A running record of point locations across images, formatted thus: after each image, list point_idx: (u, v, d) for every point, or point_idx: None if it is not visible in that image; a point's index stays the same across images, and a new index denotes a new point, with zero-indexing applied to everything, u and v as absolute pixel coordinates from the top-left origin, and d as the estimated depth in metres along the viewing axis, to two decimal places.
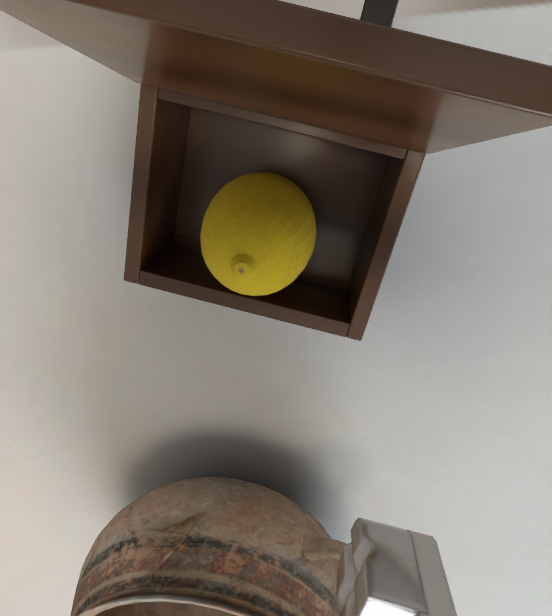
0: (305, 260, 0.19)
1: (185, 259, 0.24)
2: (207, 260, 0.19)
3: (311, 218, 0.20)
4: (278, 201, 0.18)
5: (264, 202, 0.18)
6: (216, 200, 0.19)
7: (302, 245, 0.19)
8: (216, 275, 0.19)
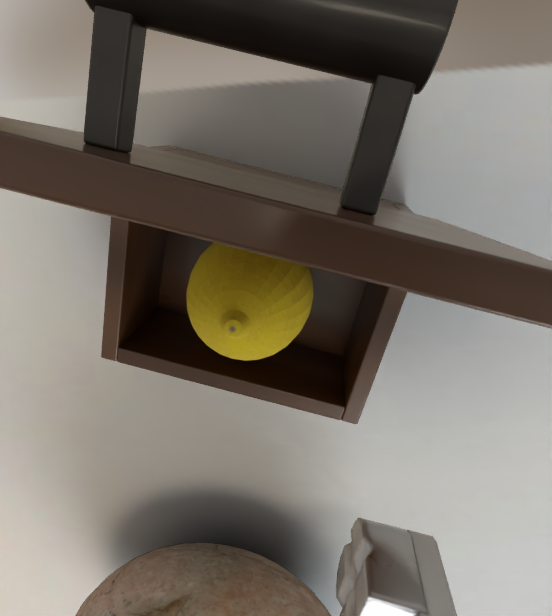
0: (302, 321, 0.17)
1: (169, 326, 0.23)
2: (193, 318, 0.17)
3: (309, 276, 0.18)
4: None
5: (259, 255, 0.16)
6: (206, 254, 0.17)
7: (300, 303, 0.17)
8: (202, 335, 0.17)
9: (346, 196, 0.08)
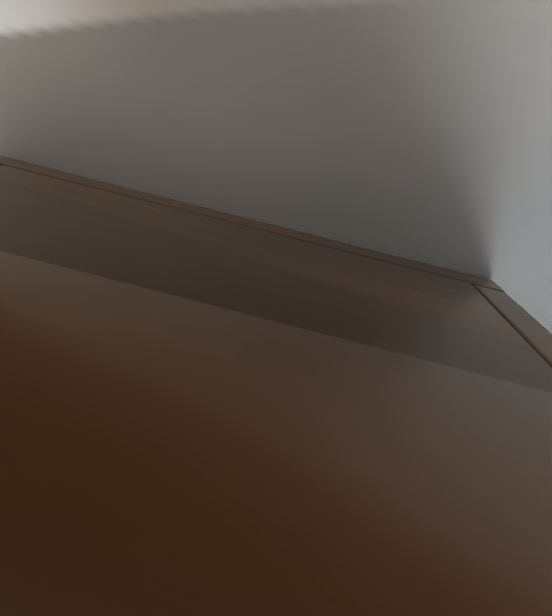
0: None
1: None
2: None
3: None
4: None
5: None
6: None
7: None
8: None
9: None
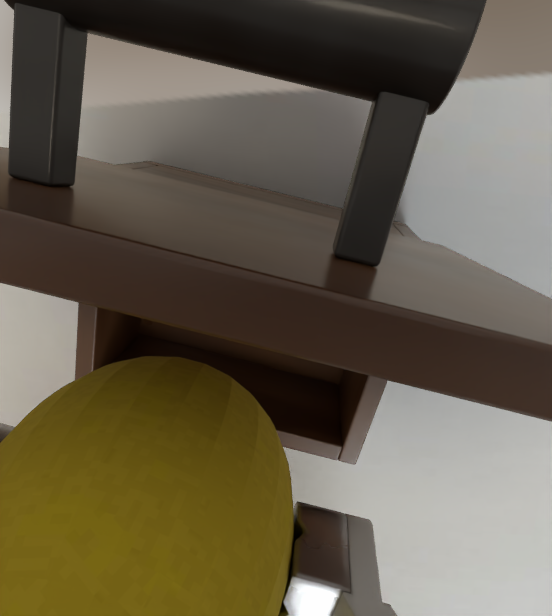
0: None
1: (151, 355, 0.21)
2: None
3: (281, 511, 0.07)
4: (168, 513, 0.05)
5: (111, 533, 0.05)
6: None
7: None
8: None
9: (341, 243, 0.06)
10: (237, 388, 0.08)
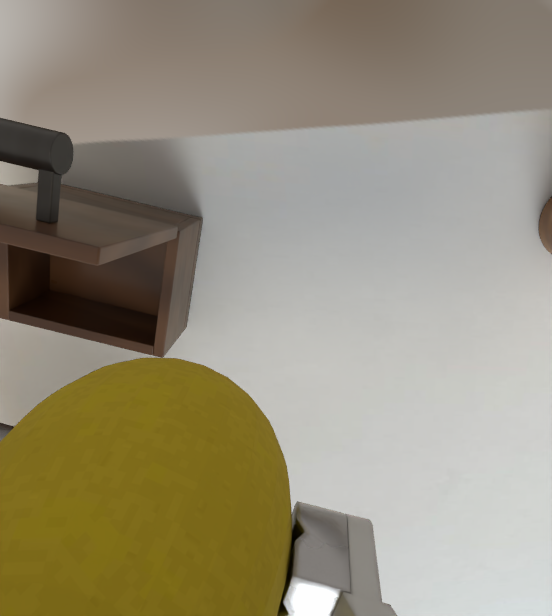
0: None
1: (52, 300, 0.34)
2: None
3: (279, 514, 0.07)
4: (165, 517, 0.05)
5: (108, 536, 0.05)
6: None
7: None
8: None
9: (37, 215, 0.19)
10: (235, 390, 0.08)
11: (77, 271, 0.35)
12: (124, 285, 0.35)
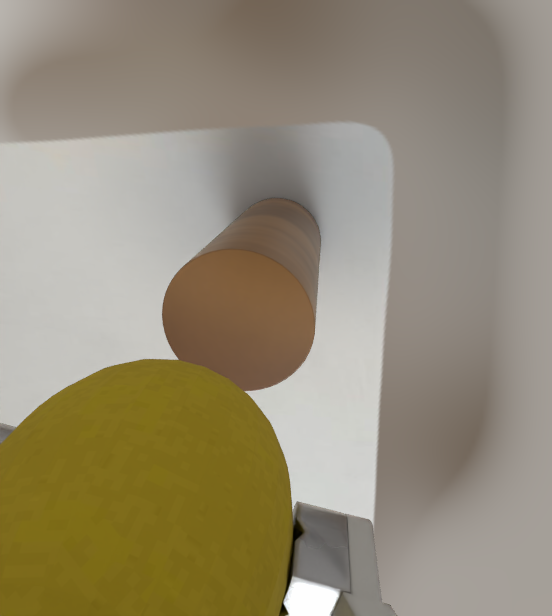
0: None
1: None
2: None
3: (280, 516, 0.07)
4: (167, 519, 0.05)
5: (109, 539, 0.05)
6: None
7: None
8: None
9: None
10: (236, 391, 0.08)
11: None
12: None
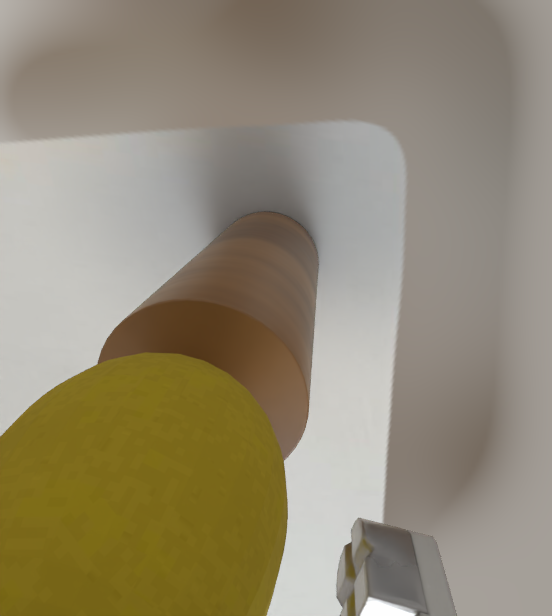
0: None
1: None
2: None
3: (273, 504, 0.07)
4: (160, 500, 0.05)
5: (105, 517, 0.05)
6: None
7: None
8: None
9: None
10: (234, 384, 0.08)
11: None
12: None
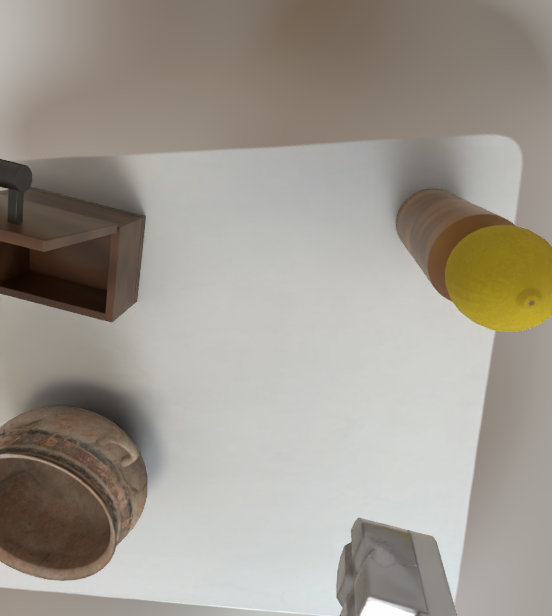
0: None
1: (31, 278, 0.44)
2: (480, 296, 0.21)
3: None
4: (548, 246, 0.21)
5: (541, 246, 0.20)
6: (484, 245, 0.21)
7: None
8: (487, 310, 0.21)
9: (8, 218, 0.29)
10: None
11: (50, 256, 0.45)
12: (87, 267, 0.45)
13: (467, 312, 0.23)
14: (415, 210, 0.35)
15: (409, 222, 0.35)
